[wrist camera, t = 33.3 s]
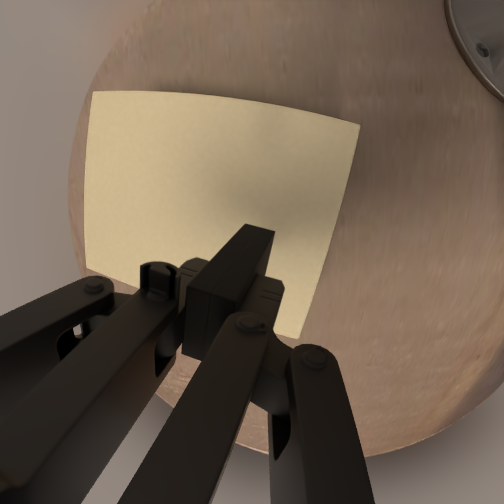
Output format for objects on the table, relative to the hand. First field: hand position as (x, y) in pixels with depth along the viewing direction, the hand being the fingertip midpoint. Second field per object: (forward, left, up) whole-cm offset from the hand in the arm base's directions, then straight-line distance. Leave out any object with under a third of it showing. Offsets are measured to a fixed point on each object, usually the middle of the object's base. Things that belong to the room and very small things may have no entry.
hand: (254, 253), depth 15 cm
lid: (+5, 0, -5) cm, 7 cm away
